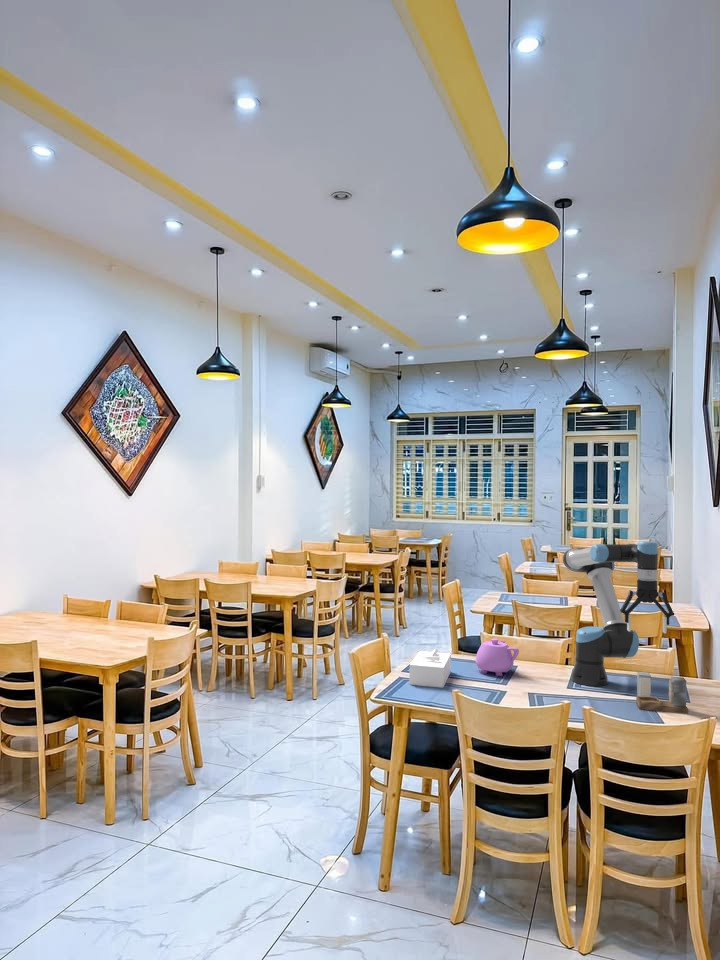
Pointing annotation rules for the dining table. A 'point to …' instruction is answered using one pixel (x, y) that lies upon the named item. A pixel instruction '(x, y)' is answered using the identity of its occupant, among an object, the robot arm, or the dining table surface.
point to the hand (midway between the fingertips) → (646, 632)
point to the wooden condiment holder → (675, 698)
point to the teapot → (495, 657)
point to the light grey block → (643, 684)
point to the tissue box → (430, 669)
